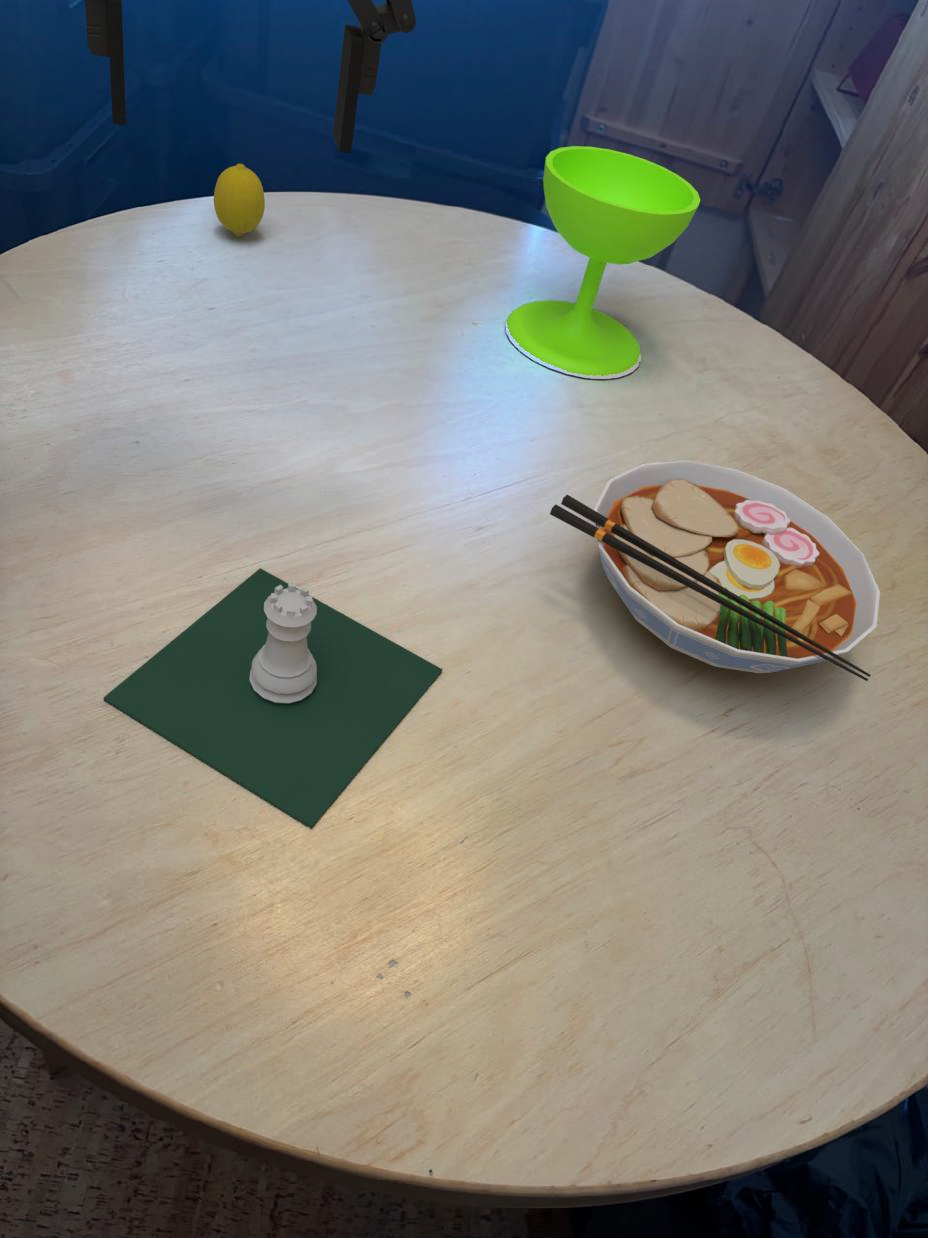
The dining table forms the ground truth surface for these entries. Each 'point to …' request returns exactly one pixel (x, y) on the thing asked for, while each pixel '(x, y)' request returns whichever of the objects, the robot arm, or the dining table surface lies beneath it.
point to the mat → (272, 732)
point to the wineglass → (601, 250)
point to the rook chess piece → (286, 648)
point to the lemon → (239, 199)
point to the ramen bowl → (730, 566)
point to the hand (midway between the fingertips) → (234, 131)
